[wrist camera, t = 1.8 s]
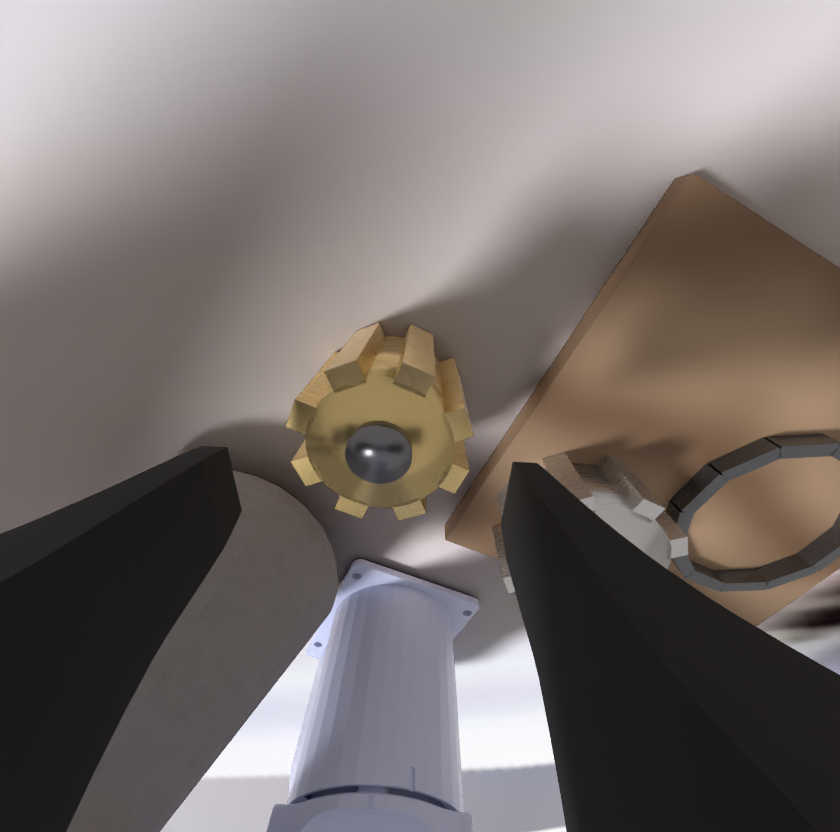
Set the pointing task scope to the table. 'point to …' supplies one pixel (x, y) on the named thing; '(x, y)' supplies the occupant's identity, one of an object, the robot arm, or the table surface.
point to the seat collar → (730, 467)
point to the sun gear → (610, 508)
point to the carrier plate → (696, 388)
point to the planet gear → (383, 424)
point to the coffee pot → (215, 661)
